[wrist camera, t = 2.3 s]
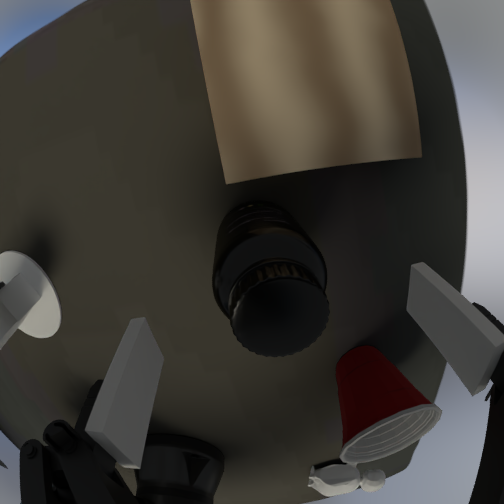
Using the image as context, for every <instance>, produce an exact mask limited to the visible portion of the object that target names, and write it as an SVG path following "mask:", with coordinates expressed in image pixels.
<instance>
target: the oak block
mask: <svg viewBox="0 0 504 504" xmlns="http://www.w3.org/2000/svg"><path fill="white" fill-rule="evenodd" d="M190 1H191V7H192V12H193V18H194V23H195V28H196V34H197V39H198V44H199V50H200V55H201V60H202V65H203V71H204V76H205V81H206V86H207V91H208V96H209V102H210V107H211V112H212V117H213V122H214V127H215V132H216V137H217V142H218V147H219V152H220V157H221V162H222V166H223V171H224V176H225V181H226V184H231V183H236V182H241V181H246V180H251V179H257V178H262V177H268V176H274V175H279V174H285V173H292V172H298V171H304V170H311V169H318V168H325V167H332V166H340V165H348V164H356V163H365V162H374V161H384V160H395V159H406V158H420V157H422V149H421V138H420V129H419V121H418V114H417V107H416V100H415V94H414V89H413V83H412V78H411V74H410V69H409V64H408V60H407V56H406V52H405V48H404V44H403V40H402V37H401V33H400V30H399V26H398V23H397V20H396V17H395V14H394V11H393V8H392V5H391V2H390V0H190Z"/></svg>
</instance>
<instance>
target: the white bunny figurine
mask: <svg viewBox="0 0 504 504" xmlns="http://www.w3.org/2000/svg"><path fill="white" fill-rule="evenodd" d="M356 465H357V463H355V464H352V463H347V464H346V465H342V464H340V465H339V464H337V465H336V464H334V465H330V466H326V467H324V468H320V469H317V470H314V466H312V468H311V472H310V476H309V478H310V480H309V483H308V486H312V487H313V488H314V489H316V490H317V491H318V492H320V493H321V494H322V495H325V496H329V497H330V496H335V495H339V494H345V493H349V492H352V491H354V490H355V489H357V487H358V486H359V485H361V488H362V490H364V491H366V492H375V491H377V490H379V489H380V488H382V487H383V485H384V484H385V474H384V472H383V471H382V470H379V469H376V470H370V469H369V470H366V471H364V473H363V475H362V477H361V476H360V473H359V470H358V469H357V468H356Z"/></svg>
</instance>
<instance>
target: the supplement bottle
mask: <svg viewBox="0 0 504 504" xmlns="http://www.w3.org/2000/svg"><path fill="white" fill-rule="evenodd" d="M326 286H327V268H326V264H325V261H324V258H323V256H322V254H321V252H320V251H319V249H318V247H317V246H316V245H315V243H314V242H313V241H312V240H311V238H310V237H309V236H308V235H307V234H306V232H305V231H304V230H303V229H302V228H301V226H300V225H299V224H298V223H297V222H296V220H295V219H294V218H293V217H292V216H291V215H290V214H289V213H288V212H287V211H286V210H285V209H284V208H282V207H281V206H279V205H277V204H275V203H272V202H268V201H261V200H257V201H250V202H246V203H243V204H241V205H239V206H237V207H235V208H234V209H233V210H231V211H230V212H229V213H228V214H227V215H226V217H225V218H224V219H223V221H222V223H221V225H220V227H219V230H218V234H217V241H216V248H215V257H214V265H213V275H212V287H213V293H214V297H215V300H216V302H217V304H218V306H219V308H220V309H221V311H222V312H223V313H224V315H225V316H226V317H227V318H228V319H229V320H230V325H231V327H232V328H233V334H234V335H235V336H236V337H237V340H238V341H239V342H240V343H242V345H243V347H245V348H248V350H249V351H251V352H255V353H256V354H257V355H263V356H266V357H267V356H272V357H278V356H282V357H284V356H286V355H292V354H294V353H296V352H300V351H302V350H303V349H304V348H307V347H309V346H310V344H312V343H313V342H315V341H316V339H317V338H318V337H319V336H320V335H321V334H322V331H323V330H324V329H325V328H326V323H327V322H328V320H329V319H328V316H329V313H330V311H329V302H328V300H327V296H326V293H325V290H326Z"/></svg>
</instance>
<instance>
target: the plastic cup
mask: <svg viewBox="0 0 504 504" xmlns="http://www.w3.org/2000/svg"><path fill="white" fill-rule="evenodd" d="M336 379H337V385H338V396H339V403H340V410H341V417H342V425H343V431H342V432H343V440H342V441H343V446H342V450H341V452H340V456H339V457H340V458H341V460H342V461H343V462H346V463H352V464H355V463H364V462H369V461H373V460H376V459H380V458H383V457H386V456H388V455H391V454H393V453H395V452H398V451H400V450H402V449H404V448H405V447H407V446H409V445H410V444H412V443H414V442H415V441H417V440H419V439H420V438H421V437H422V436H424V435H425V434H426V433H427V432H429V431H430V430H431V429H432V428H433V427H434V426H435V424H436V423H437V422H438V421H439V419H440V417H441V414H442V410H441V409H440V408H439V407H438V406H436V405H435V404H432V403H431V402H430V401H429V400H428V399H426V398H425V397H424V396H423V394H422V393H420V392H419V391H418V390H417V389H416V388H415V387H414V386H413V385H412V384H411V383H410V382H409V381H408V379H407V378H406V377H405V376H404V375H403V374H402V373H401V372H400V371H399V370H398V369H397V368H396V367H395V366H394V365H393V364H392V363H391V362H390V361H389V360H388V359H387V358H386V357H385V356H384V355H383V354H382V353H381V352H380V351H379V350H378V349H376V348H375V347H373V346H368V345H365V346H360V347H357V348H354V349H352V350H350V351H349V352H347V353H346V354H345V355H344V356H342V357H341V359H340V360H339V362H338V363H337V367H336Z"/></svg>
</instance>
